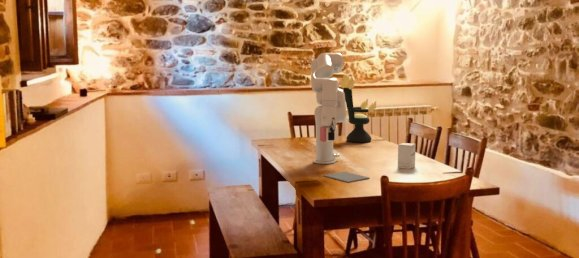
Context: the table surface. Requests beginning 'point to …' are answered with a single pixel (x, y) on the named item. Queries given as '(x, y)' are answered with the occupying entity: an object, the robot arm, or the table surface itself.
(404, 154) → the supplement box
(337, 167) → the table surface
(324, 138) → the card box
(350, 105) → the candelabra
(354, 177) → the mat
